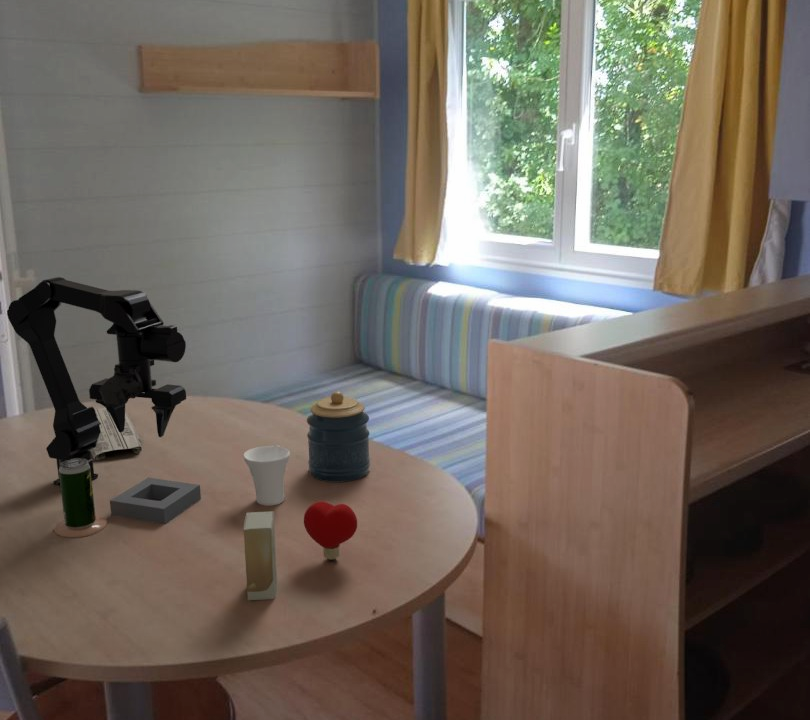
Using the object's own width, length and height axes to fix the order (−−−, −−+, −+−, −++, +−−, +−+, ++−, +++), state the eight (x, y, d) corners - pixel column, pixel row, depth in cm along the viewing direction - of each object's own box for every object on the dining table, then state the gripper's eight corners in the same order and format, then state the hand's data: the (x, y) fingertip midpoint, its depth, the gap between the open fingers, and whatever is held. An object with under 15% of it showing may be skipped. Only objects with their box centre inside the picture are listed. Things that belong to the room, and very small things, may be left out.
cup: (301, 494, 177) (299, 447, 174) (275, 512, 168) (273, 463, 166) (263, 487, 180) (261, 441, 178) (236, 505, 172) (233, 456, 170)
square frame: (111, 515, 168) (109, 500, 167) (149, 491, 179) (148, 477, 178) (165, 523, 164) (163, 508, 163) (200, 499, 175) (199, 484, 174)
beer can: (69, 533, 160) (61, 471, 157) (62, 523, 164) (54, 461, 161) (99, 526, 162) (93, 464, 159) (92, 516, 167) (85, 455, 164)
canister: (319, 487, 180) (316, 404, 176) (301, 466, 192) (297, 387, 187) (379, 477, 185) (377, 395, 181) (357, 456, 197) (355, 380, 192)
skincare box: (250, 581, 143) (246, 511, 140) (277, 580, 143) (274, 509, 140) (246, 602, 137) (242, 528, 134) (275, 600, 137) (271, 527, 134)
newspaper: (73, 420, 225) (72, 407, 224) (124, 413, 231) (122, 400, 230) (95, 465, 195) (94, 450, 194) (153, 455, 200) (152, 441, 199)
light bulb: (365, 554, 152) (363, 499, 149) (349, 573, 145) (347, 516, 143) (315, 546, 154) (313, 493, 152) (297, 565, 148) (295, 509, 146)
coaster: (44, 533, 161) (43, 531, 161) (77, 513, 169) (77, 511, 169) (85, 540, 158) (84, 538, 158) (117, 520, 166) (117, 518, 166)
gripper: (65, 363, 167) (74, 442, 171) (150, 371, 161) (157, 453, 165) (104, 350, 177) (111, 424, 181) (184, 357, 171) (190, 434, 175)
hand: (141, 434), depth 175 cm, fingers open, 9 cm apart
